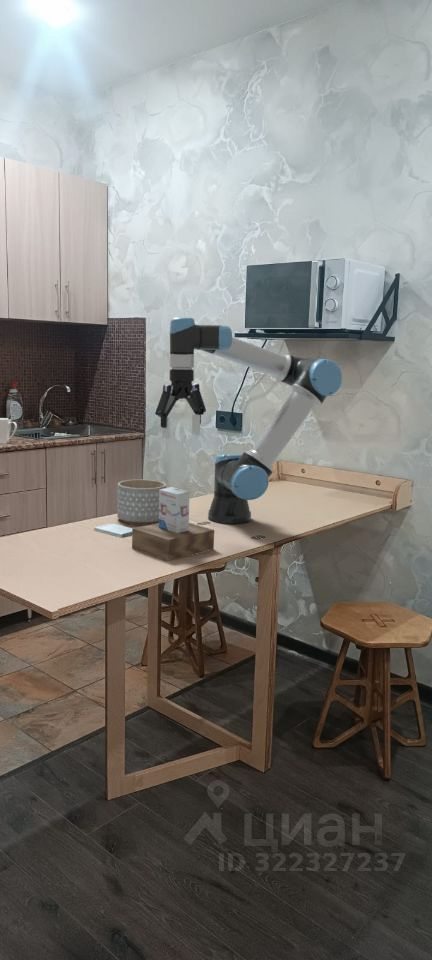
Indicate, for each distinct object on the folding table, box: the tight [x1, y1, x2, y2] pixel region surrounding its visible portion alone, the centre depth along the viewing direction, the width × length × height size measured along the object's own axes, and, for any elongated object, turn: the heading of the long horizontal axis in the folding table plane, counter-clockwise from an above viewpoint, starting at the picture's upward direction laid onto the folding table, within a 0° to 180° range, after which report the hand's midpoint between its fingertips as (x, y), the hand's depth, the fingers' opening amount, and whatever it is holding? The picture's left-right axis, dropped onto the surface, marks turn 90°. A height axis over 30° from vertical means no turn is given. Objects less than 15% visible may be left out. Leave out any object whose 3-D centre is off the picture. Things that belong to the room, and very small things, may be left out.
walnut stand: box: [131, 522, 215, 562], centre depth 206 cm, size 18×16×6 cm
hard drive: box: [93, 523, 133, 538], centre depth 224 cm, size 2×8×12 cm
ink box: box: [158, 486, 190, 533], centre depth 205 cm, size 9×5×12 cm, turn 45°
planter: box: [116, 479, 167, 526], centre depth 239 cm, size 16×16×13 cm
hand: (181, 436), depth 222 cm, fingers open, 13 cm apart
